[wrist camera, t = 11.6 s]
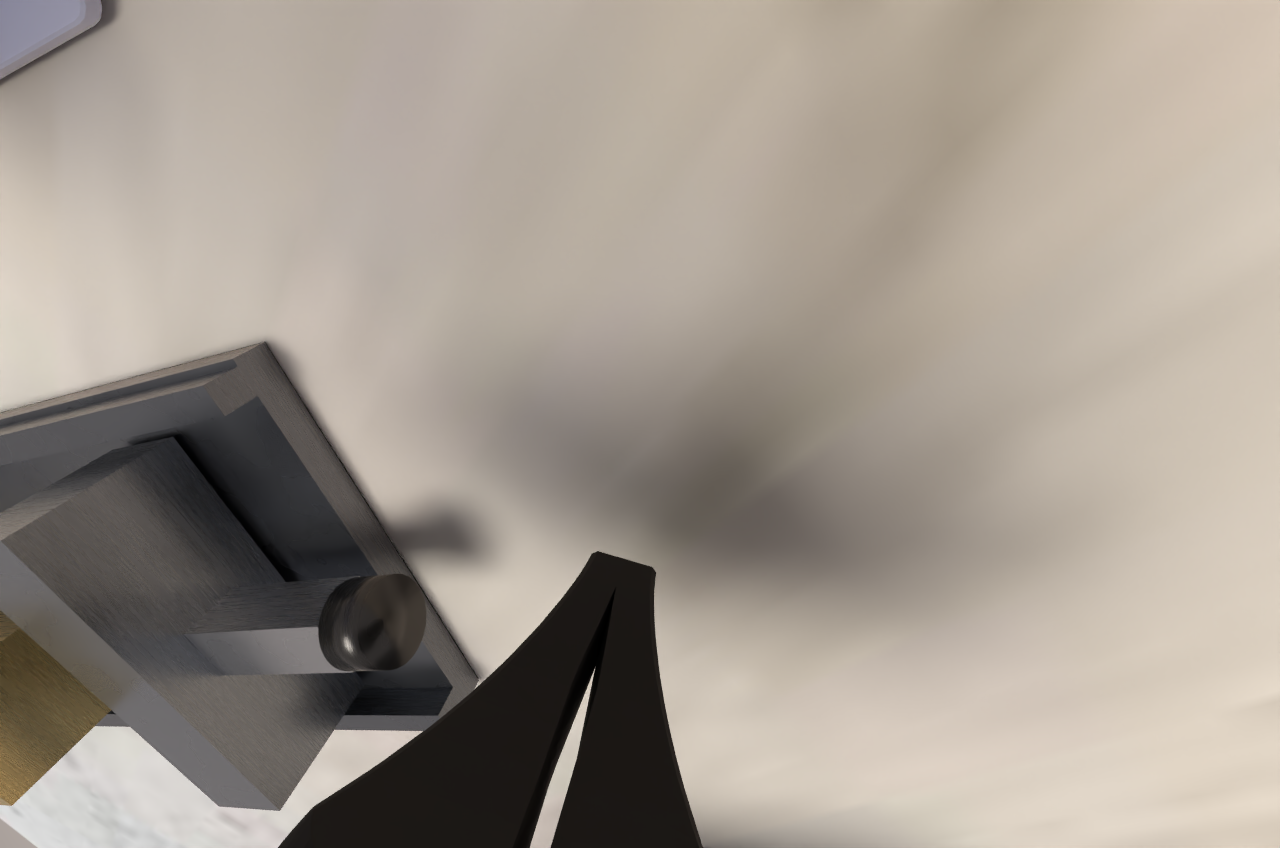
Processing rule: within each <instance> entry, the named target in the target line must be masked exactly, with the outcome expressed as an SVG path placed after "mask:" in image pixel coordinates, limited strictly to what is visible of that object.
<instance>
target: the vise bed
mask: <svg viewBox="0 0 1280 848" xmlns="http://www.w3.org/2000/svg"><path fill="white" fill-rule="evenodd" d="M169 437H174V439H175V440H176V441H177V442H178V444H179V445H180V446H181V448H182V449H183V450H184V451H185V453H186V454H187V455H188V457H189V458H190V459H191V461H192V462H193V463H194V464H195V466H196V467H197V468H198V470H199V471H200V472H201V473H202V475H203V476H204V477H205V479H206V480H207V481H208V482H209V484H210V485H211V486H212V488H213V489H214V490H215V491H216V493H217V494H218V495H219V497H220V498H221V499H222V501H223V502H224V503H225V504H226V506H227V507H228V508H229V510H230V511H231V512H232V513H233V515H234V516H235V517H236V519H237V520H238V521H239V522H240V524H241V525H242V526H243V528H244V529H245V530H246V531H247V533H248V534H249V535H250V537H251V538H252V539H253V541H254V542H255V543H256V544H257V546H258V547H259V548H260V550H261V551H262V552H263V553H264V555H265V556H266V557H267V559H268V560H269V561H270V562H271V564H272V565H273V566H274V568H275V569H276V570H277V572H278V573H279V574H280V575H281V577H282V578H283V579H284V581H285V582H296V581H307V580H318V579H329V578H340V577H351V576H360V577H365V576H376V575H387V574H404V575H407V576H409V577H410V578H412V579H413V580H414V581H415V579H414V577H413V576H412V574H411V573H410V571H409V570H408V568H407V566H406V565H405V563H404V562H403V560H402V558H401V557H400V555H399V554H398V552H397V551H396V549H395V547H394V546H393V544H392V543H391V541H390V540H389V538H388V536H387V535H386V533H385V532H384V530H383V529H382V527H381V525H380V524H379V522H378V521H377V519H376V517H375V516H374V514H373V513H372V511H371V510H370V508H369V506H368V505H367V503H366V502H365V500H364V499H363V497H362V495H361V494H360V492H359V491H358V489H357V488H356V486H355V484H354V483H353V481H352V480H351V478H350V477H349V475H348V473H347V472H346V470H345V469H344V467H343V465H342V464H341V462H340V461H339V459H338V458H337V456H336V454H335V453H334V451H333V450H332V448H331V447H330V445H329V443H328V442H327V440H326V439H325V437H324V436H323V434H322V432H321V431H320V429H319V428H318V426H317V425H316V423H315V421H314V420H313V418H312V417H311V415H310V413H309V412H308V410H307V409H306V407H305V406H304V404H303V402H302V401H301V399H300V398H299V396H298V395H297V393H296V391H295V390H294V388H293V387H292V385H291V384H290V382H289V380H288V379H287V377H286V376H285V374H284V372H283V371H282V369H281V368H280V366H279V365H278V363H277V361H276V360H275V358H274V357H273V355H272V354H271V352H270V350H269V349H268V347H267V346H266V344H265V343H264V342H263V343H260V344H256V345H252V346H248V347H245V348H241V349H237V350H233V351H230V352H226V353H222V354H218V355H215V356H211V357H207V358H203V359H200V360H196V361H192V362H189V363H185V364H181V365H177V366H174V367H170V368H166V369H162V370H159V371H155V372H151V373H147V374H144V375H140V376H136V377H132V378H129V379H125V380H121V381H117V382H114V383H110V384H106V385H103V386H99V387H95V388H91V389H88V390H84V391H80V392H76V393H73V394H69V395H65V396H61V397H58V398H54V399H50V400H46V401H43V402H39V403H35V404H31V405H28V406H24V407H20V408H17V409H13V410H9V411H5V412H2V413H0V513H2V512H4V511H5V510H7V509H9V508H11V507H12V506H14V505H16V504H18V503H20V502H21V501H23V500H25V499H27V498H28V497H30V496H32V495H34V494H35V493H37V492H39V491H41V490H42V489H44V488H46V487H48V486H49V485H51V484H53V483H55V482H57V481H58V480H60V479H62V478H64V477H65V476H67V475H69V474H71V473H72V472H74V471H76V470H78V469H79V468H81V467H83V466H85V465H86V464H88V463H90V462H92V461H93V460H95V459H97V458H99V457H101V456H102V455H104V454H106V453H108V452H109V451H111V450H113V449H118V448H122V447H127V446H132V445H137V444H141V443H146V442H151V441H155V440H160V439H165V438H169ZM415 582H416V581H415ZM416 583H417V582H416ZM417 585H418V584H417ZM418 586H419V585H418ZM420 589H421V588H420ZM421 591H422V590H421ZM422 594H423V596H424V600H425V604H426V626H425V632H424V635H423V638H422V641H421V644H420V646H419V648H418V650H417V651H416V653H415V654H414V656H413V657H412V658H411V659H410V660H409V661H408V662H407V663H406V664H405V665H403V666H402V667H400V668H398V669H395V670H388V671H355V672H356V673H357V675H358V676H359V677H360V679H361V680H362V681H363V683H364V684H365V685H364V686H363V687H362V689H361V690H360V692H359V693H358V695H357V696H356V698H355V699H354V701H353V702H352V704H351V705H350V707H349V708H348V710H347V711H346V713H345V714H344V716H343V717H342V719H341V720H340V722H339V723H338V725H337V726H336V728H335V729H334V730H398V731H425V730H426V729H427V728H429V727H430V726H431V725H432V724H434V723H435V722H436V721H437V720H439V719H440V718H441V717H442V716H444V715H445V714H446V713H447V712H449V711H450V710H451V709H452V708H453V707H454V706H456V705H457V704H458V703H459V702H460V701H462V700H463V699H464V698H465V697H466V696H468V695H469V694H470V693H471V692H472V691H473V690H474V689H475V687H476V685H477V683H478V681H479V680H478V678H477V677H476V675H475V674H474V672H473V670H472V669H471V667H470V666H469V664H468V662H467V661H466V659H465V658H464V656H463V655H462V653H461V651H460V650H459V648H458V647H457V645H456V644H455V642H454V640H453V639H452V637H451V636H450V634H449V633H448V631H447V629H446V628H445V626H444V625H443V623H442V622H441V620H440V618H439V617H438V615H437V614H436V612H435V610H434V609H433V607H432V606H431V604H430V603H429V601H428V599H427V598H426V596H425V595H424V593H423V592H422ZM95 726H125V727H130V726H129V725H128V724H127V723H125V722H124V721H123V720H122V719H121V718H120V717H119V716H118V715H117V714H115V713H114V712H113V711H112V710H111V711H110V712H109V713H108V714H107V715H106V716H105V717H104V718H103V719H102V720H101V721H99V722H98V723H97V724H96V725H95Z"/></svg>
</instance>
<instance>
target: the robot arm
mask: <svg viewBox="0 0 1280 848" xmlns="http://www.w3.org/2000/svg"><path fill="white" fill-rule="evenodd" d="M101 13H102V4H101V0H0V79H2V78H3V77H5V76H7V75H9V74H10V73H12V72H14V71H16V70H18V69H19V68H21V67H23V66H25V65H26V64H28V63H30V62H32V61H33V60H35V59H37V58H39V57H40V56H42V55H44V54H46V53H47V52H49V51H51V50H53V49H54V48H56V47H58V46H60V45H61V44H63V43H65V42H67V41H68V40H70V39H72V38H74V37H75V36H77V35H79V34H81V33H83V32H84V31H86V30H88V29H90V28H91V27H93V26H95V25H96V24H97V23H98V22H99V20H100V19H101ZM655 577H656V572H655V570H654V569H653V567H650V566H646V565H643V564H640V563H636V562H633V561H629V560H626V559H623V558H619V557H616V556H612V555H609V554H606V553H602V552H599V551H597V552H595V553H592V555H591V556H590V558H589V560H588V562H587V564H586V565H585V567H584V568H583V570H582V572H581V573H580V575H579V576H578V577H577V579H576V580H575V582H574V583H573V584H572V586H571V587H570V588H569V590H568V591H567V592H566V594H565V595H564V596H563V598H562V599H561V600H560V601H559V602H558V604H557V605H556V606H555V607H554V608H553V610H552V611H551V612H550V613H549V614H548V616H547V617H546V618H545V619H544V620H543V622H542V623H541V624H540V625H539V626H538V627H537V628H536V629H535V630H534V631H533V633H532V634H531V635H530V636H529V637H528V638H527V639H526V640H525V641H524V642H523V643H522V644H521V645H520V646H519V647H518V648H517V649H516V651H515V652H514V653H513V654H512V655H511V656H510V657H509V658H508V659H507V660H506V661H505V662H504V663H503V664H502V665H501V666H499V667H498V668H497V669H496V670H495V671H494V672H493V673H492V674H491V675H490V676H489V677H488V678H487V679H486V680H484V681H483V682H482V683H481V684H480V685H479V686H478V687H477V688H476V689H475V690H473V691H472V692H471V693H470V694H469V695H468V696H466V697H465V698H464V699H463V700H462V701H460V702H459V703H458V704H457V705H456V706H454V707H453V708H452V709H451V710H450V711H449V712H447V713H446V714H445V715H444V716H442V717H441V718H440V719H439V720H437V721H436V722H435V723H434V724H432V725H431V726H430V727H429V728H427V729H426V730H425V731H423V732H422V733H421V734H419V735H418V736H416V737H415V738H414V739H412V740H411V741H410V742H408V743H407V744H406V745H404V746H403V747H401V748H400V749H399V750H397V751H396V752H395V753H393V754H392V755H391V756H389V757H388V758H387V759H385V760H384V761H382V762H381V763H379V764H378V765H377V766H375V767H374V768H372V769H371V770H369V771H368V772H366V773H365V774H363V775H362V776H360V777H358V778H357V779H355V780H354V781H352V782H351V783H349V784H348V785H346V786H345V787H343V788H342V789H340V790H338V791H337V792H335V793H334V794H332V795H331V796H329V797H328V798H326V799H325V800H323V801H322V802H320V803H318V804H317V805H316V806H314V807H313V808H312V809H311V810H310V811H309V812H308V813H307V814H306V815H305V817H304V818H303V819H302V820H301V821H300V822H299V823H298V824H297V826H296V827H295V828H294V829H293V830H292V831H291V832H290V834H289V835H288V836H287V837H286V838H285V840H284V841H283V842H282V843H281V844H280V846H279V847H278V848H530V844H531V841H532V838H533V835H534V831H535V828H536V825H537V822H538V819H539V815H540V812H541V809H542V806H543V802H544V799H545V796H546V793H547V789H548V786H549V784H550V781H551V778H552V775H553V772H554V770H555V767H556V764H557V762H558V759H559V757H560V754H561V752H562V749H563V747H564V744H565V742H566V739H567V737H568V734H569V732H570V729H571V727H572V724H573V722H574V719H575V717H576V714H577V712H578V709H579V707H580V704H581V702H582V699H583V697H584V694H585V691H586V689H587V686H588V684H589V681H590V679H591V676H592V674H593V671H594V669H595V672H594V677H593V682H592V687H591V692H590V697H589V702H588V707H587V712H586V717H585V721H584V726H583V731H582V736H581V741H580V746H579V751H578V756H577V760H576V763H575V767H574V770H573V774H572V777H571V780H570V784H569V787H568V791H567V794H566V797H565V801H564V804H563V808H562V811H561V814H560V818H559V821H558V825H557V828H556V831H555V835H554V838H553V842H552V845H551V848H703V846H702V843H701V840H700V837H699V834H698V831H697V827H696V824H695V821H694V818H693V815H692V811H691V808H690V805H689V802H688V799H687V795H686V792H685V789H684V785H683V782H682V778H681V774H680V770H679V766H678V763H677V759H676V755H675V751H674V746H673V742H672V738H671V733H670V729H669V724H668V719H667V714H666V709H665V704H664V698H663V692H662V686H661V679H660V672H659V665H658V656H657V647H656V637H655V622H654V587H655ZM595 666H596V667H595Z"/></svg>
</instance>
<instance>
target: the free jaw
mask: <svg viewBox="0 0 1280 848" xmlns="http://www.w3.org/2000/svg"><path fill="white" fill-rule="evenodd" d="M0 610H1V611H2V612H3V613H4V614H5V615H6V616H7V617H8V618H10V619H11V620H12V621H13V622H14V623H15V624H16V625H17V626H19V627H20V628H21V629H22V630H23V631H24V632H25V633H26V634H27V635H29V636H30V637H31V638H32V639H33V640H34V641H35V642H36V643H37V644H39V645H40V646H41V647H42V648H43V649H44V650H45V651H46V652H47V653H49V654H50V655H51V656H52V657H53V658H54V659H55V660H56V661H58V662H59V663H60V664H61V665H62V666H63V667H64V668H65V669H66V670H68V671H69V672H70V673H71V674H72V675H73V676H74V677H75V678H76V679H78V680H79V681H80V682H81V683H82V684H83V685H84V686H85V687H86V688H88V689H89V690H90V691H91V692H92V693H93V694H94V695H95V696H97V697H98V698H99V699H100V700H101V701H102V702H103V703H104V704H105V705H107V706H108V707H109V708H110V709H111V710H112V711H113V712H114V713H115V714H117V715H118V716H119V717H120V718H121V719H122V720H123V721H124V722H125V723H127V724H128V725H129V726H130V727H131V728H132V729H133V730H134V731H136V732H137V733H138V734H139V735H140V736H141V737H142V738H143V739H144V740H146V741H147V742H148V743H149V744H150V745H151V746H152V747H153V748H154V749H156V750H157V751H158V752H159V753H160V754H161V755H162V756H163V757H165V758H166V759H167V760H168V761H169V762H170V763H171V764H172V765H173V766H175V767H176V768H177V769H178V770H179V771H180V772H181V773H182V774H183V775H185V776H186V777H187V778H188V779H189V780H190V781H191V782H192V783H193V784H195V785H196V786H197V787H198V788H199V789H200V790H201V791H202V792H204V793H205V794H206V795H207V796H208V797H209V798H210V799H211V800H212V801H214V802H215V803H216V804H217V805H218V806H222V807H235V808H249V809H262V810H276V811H280V810H281V808H282V807H283V805H284V804H285V802H286V801H287V799H288V798H289V796H290V795H291V793H292V792H293V790H294V789H295V787H296V786H297V784H298V783H299V782H300V780H301V779H302V777H303V776H304V774H305V773H306V771H307V770H308V768H309V767H310V765H311V764H312V762H313V761H314V759H315V758H316V756H317V755H318V753H319V752H320V750H321V749H322V747H323V746H324V744H325V743H326V741H327V740H328V738H329V737H330V735H331V734H332V732H333V731H334V729H335V728H336V726H337V725H338V723H339V722H340V720H341V719H342V717H343V716H344V714H345V713H346V711H347V710H348V708H349V707H350V705H351V704H352V702H353V701H354V699H355V698H356V696H357V695H358V693H359V692H360V690H361V689H362V687H363V686H364V685H365V684H364V683H363V681H362V680H361V679H360V677H359V676H358V675H357V673H356V672H355V671H388V670H395V669H398V668H400V667H402V666H403V665H405V664H406V663H407V662H408V661H409V660H410V659H411V658H412V657H413V656H414V654H415V653H416V651H417V650H418V648H419V646H420V644H421V641H422V638H423V635H424V632H425V626H426V604H425V600H424V596H423V594H422V591H421V589H420V587H419V586H418V585H417V583H416V582H415V581H414V580H413V579H412V578H410V577H409V576H407V575H404V574H387V575H376V576H365V577H360V576H351V577H340V578H329V579H318V580H307V581H296V582H285V581H284V579H283V578H282V577H281V575H280V574H279V573H278V572H277V570H276V569H275V568H274V566H273V565H272V564H271V562H270V561H269V560H268V559H267V557H266V556H265V555H264V553H263V552H262V551H261V550H260V548H259V547H258V546H257V544H256V543H255V542H254V541H253V539H252V538H251V537H250V535H249V534H248V533H247V531H246V530H245V529H244V528H243V526H242V525H241V524H240V522H239V521H238V520H237V519H236V517H235V516H234V515H233V513H232V512H231V511H230V510H229V508H228V507H227V506H226V504H225V503H224V502H223V501H222V499H221V498H220V497H219V495H218V494H217V493H216V491H215V490H214V489H213V488H212V486H211V485H210V484H209V482H208V481H207V480H206V479H205V477H204V476H203V475H202V473H201V472H200V471H199V470H198V468H197V467H196V466H195V464H194V463H193V462H192V461H191V459H190V458H189V457H188V455H187V454H186V453H185V451H184V450H183V449H182V448H181V446H180V445H179V444H178V442H177V441H176V440H175V439H174V437H169V438H165V439H160V440H155V441H151V442H146V443H141V444H137V445H132V446H127V447H122V448H118V449H113V450H111V451H109V452H108V453H106V454H104V455H102V456H101V457H99V458H97V459H95V460H93V461H92V462H90V463H88V464H86V465H85V466H83V467H81V468H79V469H78V470H76V471H74V472H72V473H71V474H69V475H67V476H65V477H64V478H62V479H60V480H58V481H57V482H55V483H53V484H51V485H49V486H48V487H46V488H44V489H42V490H41V491H39V492H37V493H35V494H34V495H32V496H30V497H28V498H27V499H25V500H23V501H21V502H20V503H18V504H16V505H14V506H12V507H11V508H9V509H7V510H5V511H4V512H2V513H0Z"/></svg>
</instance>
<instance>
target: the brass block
mask: <svg viewBox="0 0 1280 848" xmlns="http://www.w3.org/2000/svg"><path fill="white" fill-rule="evenodd" d="M110 711H111V709H110V708H109V707H108V706H107V705H105V704H104V703H103V702H102V701H101V700H100V699H99V698H98V697H97V696H95V695H94V694H93V693H92V692H91V691H90V690H89V689H88V688H86V687H85V686H84V685H83V684H82V683H81V682H80V681H79V680H78V679H76V678H75V677H74V676H73V675H72V674H71V673H70V672H69V671H68V670H66V669H65V668H64V667H63V666H62V665H61V664H60V663H59V662H58V661H56V660H55V659H54V658H53V657H52V656H51V655H50V654H49V653H47V652H46V651H45V650H44V649H43V648H42V647H41V646H40V645H39V644H37V643H36V642H35V641H34V640H33V639H32V638H31V637H30V636H29V635H27V634H26V633H25V632H24V631H23V630H22V629H21V628H20V627H19V626H17V625H16V624H15V623H14V622H13V621H12V620H11V619H10V618H8V617H7V616H6V615H5V614H4V613H3V612H2V611H1V610H0V805H9V806H12V805H13V804H14V803H15V802H16V801H17V800H18V799H19V798H20V797H21V796H22V795H23V794H24V793H26V792H27V791H28V790H29V789H30V788H31V787H32V786H33V785H34V784H35V783H36V782H37V781H38V780H39V779H40V778H41V777H42V776H43V775H44V774H45V773H46V772H47V771H48V770H49V769H51V768H52V767H53V766H54V765H55V764H56V763H57V762H58V761H59V760H60V759H61V758H62V757H63V756H64V755H65V754H66V753H67V752H68V751H69V750H70V749H71V748H72V747H73V746H74V745H76V744H77V743H78V742H79V741H80V740H81V739H82V738H83V737H84V736H85V735H86V734H87V733H88V732H89V731H90V730H91V729H92V728H93V727H94V726H95V725H96V724H97V723H98V722H99V721H101V720H102V719H103V718H104V717H105V716H106V715H107V714H108V713H109V712H110Z"/></svg>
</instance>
